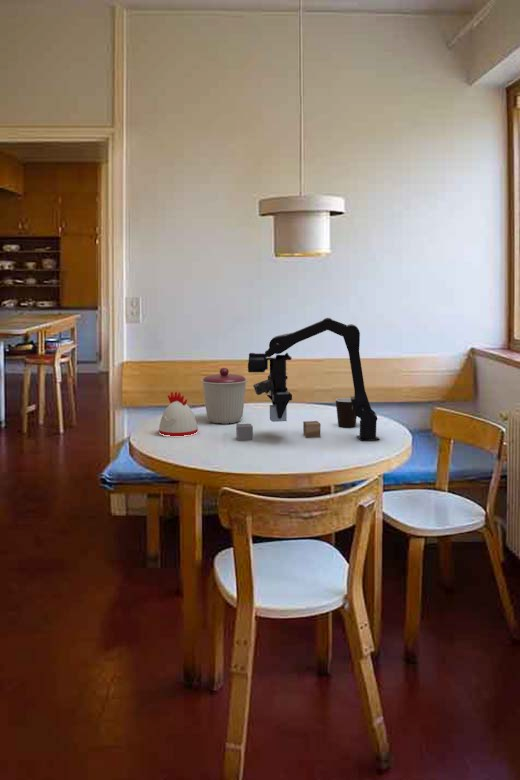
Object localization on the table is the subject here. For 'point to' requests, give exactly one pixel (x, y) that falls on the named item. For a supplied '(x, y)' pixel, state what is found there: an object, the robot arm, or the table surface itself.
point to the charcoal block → (244, 432)
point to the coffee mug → (345, 413)
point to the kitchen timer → (178, 418)
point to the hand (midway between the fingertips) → (278, 417)
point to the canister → (224, 396)
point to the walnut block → (311, 429)
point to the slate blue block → (274, 414)
